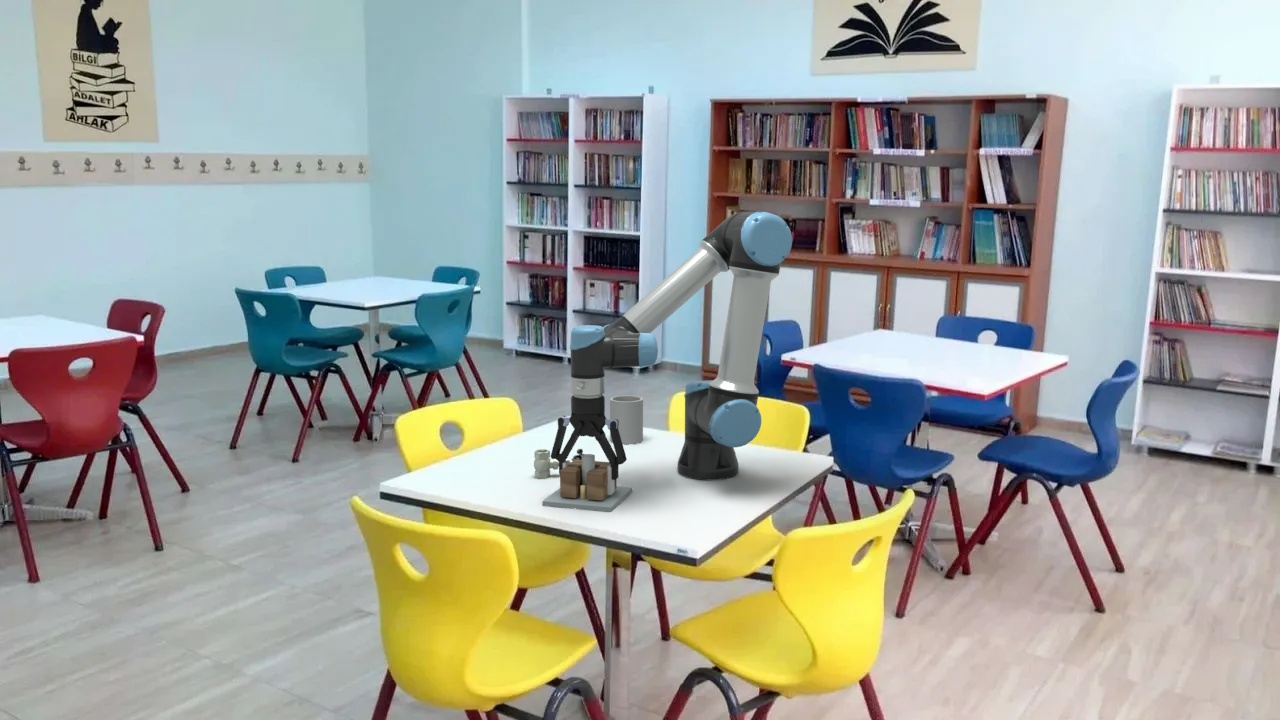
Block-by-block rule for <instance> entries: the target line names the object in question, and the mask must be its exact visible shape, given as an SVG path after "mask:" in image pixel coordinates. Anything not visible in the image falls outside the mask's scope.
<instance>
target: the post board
mask: <svg viewBox="0 0 1280 720" xmlns="http://www.w3.org/2000/svg"><path fill="white" fill-rule="evenodd" d="M583 454H584V455H582V485H580V495H579V496H578V497H577V498H570V497H560V487H559V488H558V489H557V490H555V491H554V492H553V493H551V494H550V495H548V496H547V497H546V498H545V499H543V500H542V503H541V504H542V505H543V507H545V506H546V507H553V506H555V507H554V508H563V507H565V508H564V509H574V508H576V509H575V510H584V511H597V512H608V513H612V511H614V510H615V509H616V508H617V507H618V506H619V505H620V504H621V503H622V502H623V501H624V500H625V499H626V498H627V497H629V496H630V495H631V494H632V493H633V489H634V488H633V487H631V486H622V485H621V486H619V485H617V488H616V489H615V492H614V493H613V494H611V495H608V496H607V497H606V498H605V499H604V500H592V499H587V472H588V471H590V470H595V461H596V456H595V454H591V453H583Z"/></svg>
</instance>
